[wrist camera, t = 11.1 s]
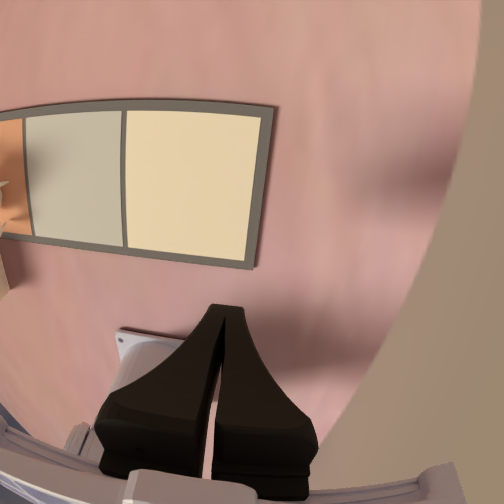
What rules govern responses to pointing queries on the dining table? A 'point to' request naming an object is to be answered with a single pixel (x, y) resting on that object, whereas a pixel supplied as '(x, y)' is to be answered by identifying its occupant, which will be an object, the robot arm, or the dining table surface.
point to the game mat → (137, 178)
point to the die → (3, 281)
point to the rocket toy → (0, 229)
